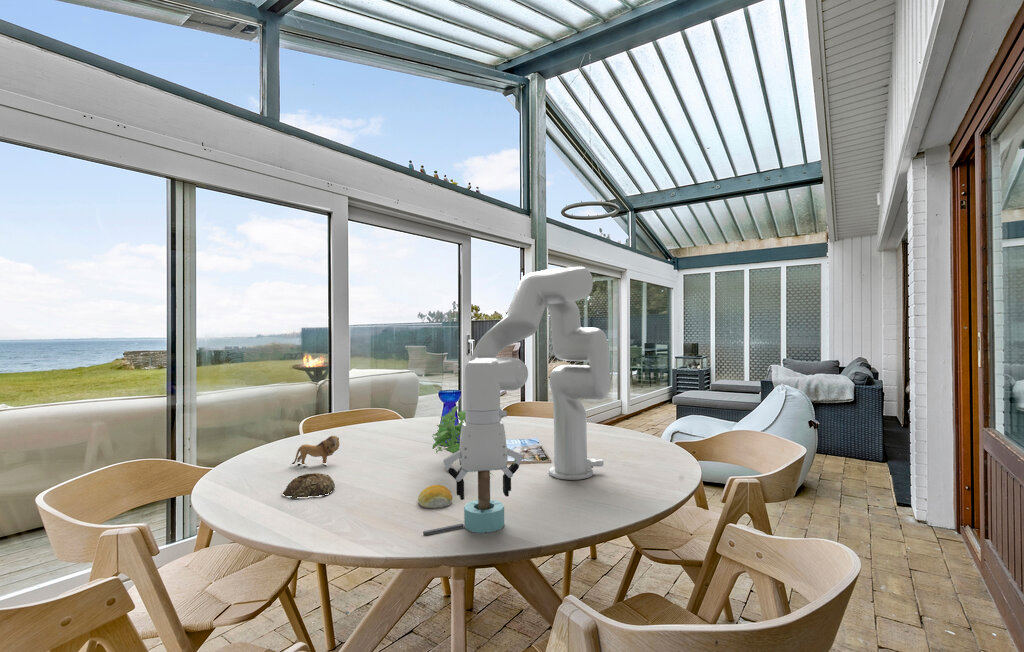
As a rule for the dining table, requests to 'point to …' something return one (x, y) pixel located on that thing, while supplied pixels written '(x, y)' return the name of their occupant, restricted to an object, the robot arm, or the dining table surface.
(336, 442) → the lion figurine
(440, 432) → the plant cuttings
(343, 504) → the dining table surface
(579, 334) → the robot arm
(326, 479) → the brown rock
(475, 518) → the bead
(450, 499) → the bread roll
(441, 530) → the thin grey bar
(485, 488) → the round-ended wooden dowel
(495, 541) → the dining table surface
